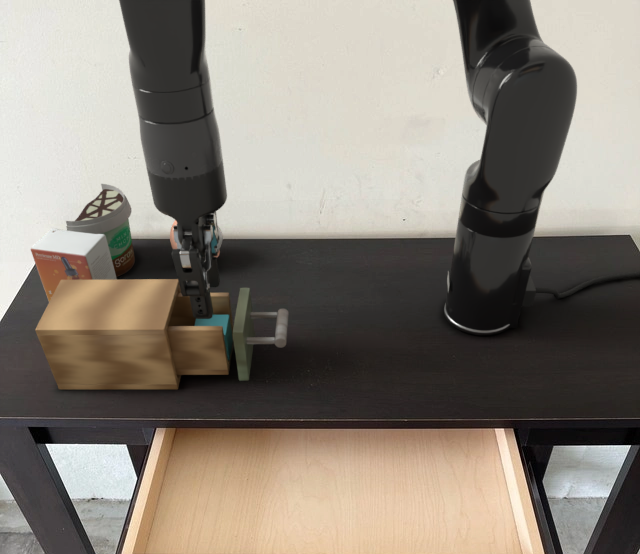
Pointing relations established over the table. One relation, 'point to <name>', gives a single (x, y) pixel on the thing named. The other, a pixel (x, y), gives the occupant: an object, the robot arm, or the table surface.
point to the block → (220, 321)
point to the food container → (109, 225)
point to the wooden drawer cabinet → (110, 334)
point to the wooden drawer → (219, 336)
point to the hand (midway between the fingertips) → (207, 300)
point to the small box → (71, 258)
